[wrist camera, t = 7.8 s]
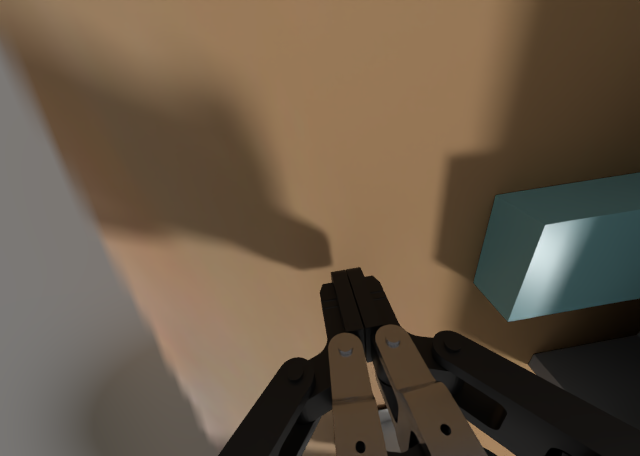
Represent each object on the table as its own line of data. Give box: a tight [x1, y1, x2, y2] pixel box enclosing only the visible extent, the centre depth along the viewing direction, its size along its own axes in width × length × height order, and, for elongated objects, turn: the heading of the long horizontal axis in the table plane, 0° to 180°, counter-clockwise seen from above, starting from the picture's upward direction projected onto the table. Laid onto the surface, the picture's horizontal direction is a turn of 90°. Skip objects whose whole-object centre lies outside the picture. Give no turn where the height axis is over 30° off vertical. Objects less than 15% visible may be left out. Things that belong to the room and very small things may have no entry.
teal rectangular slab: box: [473, 172, 640, 322], centre depth 14 cm, size 15×6×3 cm, turn 96°
